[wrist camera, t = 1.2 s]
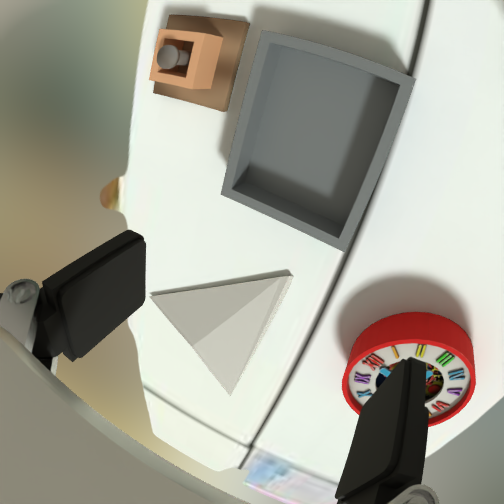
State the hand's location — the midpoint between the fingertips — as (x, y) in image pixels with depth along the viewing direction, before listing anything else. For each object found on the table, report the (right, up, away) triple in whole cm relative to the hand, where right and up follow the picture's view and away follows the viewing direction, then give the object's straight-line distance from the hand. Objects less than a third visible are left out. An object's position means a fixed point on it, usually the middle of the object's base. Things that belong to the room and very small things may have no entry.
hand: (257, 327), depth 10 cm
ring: (-7, +27, +25) cm, 37 cm away
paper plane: (-8, -8, +46) cm, 47 cm away
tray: (+7, +16, +24) cm, 30 cm away
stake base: (-7, +27, +26) cm, 38 cm away
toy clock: (+24, -14, +32) cm, 43 cm away
